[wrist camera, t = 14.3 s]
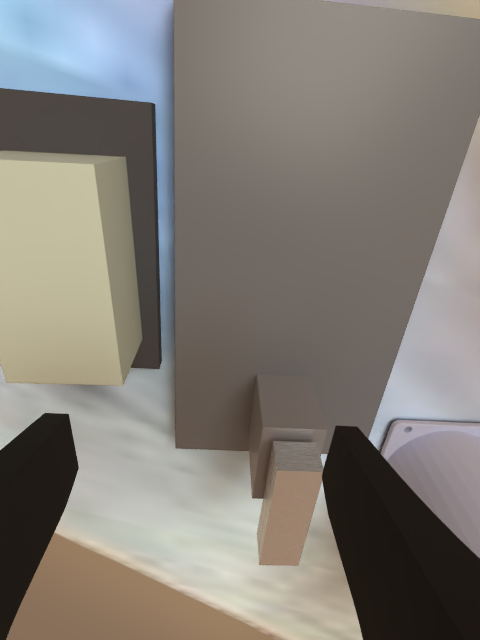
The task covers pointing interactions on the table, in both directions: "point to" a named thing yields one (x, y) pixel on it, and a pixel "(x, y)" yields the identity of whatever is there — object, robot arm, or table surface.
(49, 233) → the cream rectangular block
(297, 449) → the bar
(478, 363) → the table surface
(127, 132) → the mat
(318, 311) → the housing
